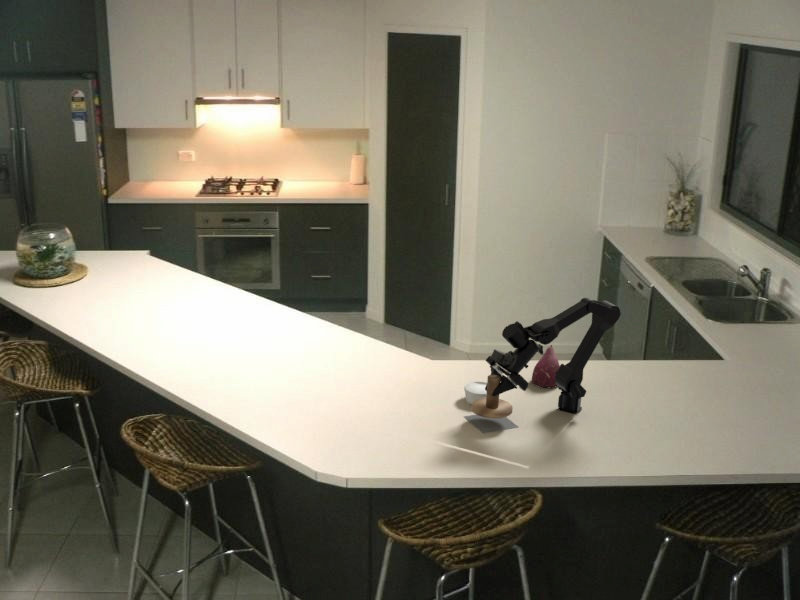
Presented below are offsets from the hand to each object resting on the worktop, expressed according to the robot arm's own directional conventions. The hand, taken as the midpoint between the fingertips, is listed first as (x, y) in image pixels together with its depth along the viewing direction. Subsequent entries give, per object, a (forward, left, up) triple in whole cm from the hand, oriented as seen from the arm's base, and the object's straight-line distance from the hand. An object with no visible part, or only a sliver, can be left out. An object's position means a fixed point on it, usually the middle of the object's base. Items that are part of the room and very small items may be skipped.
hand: (489, 392), depth 318 cm
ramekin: (+9, -15, -11) cm, 21 cm away
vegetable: (-4, -43, -11) cm, 45 cm away
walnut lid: (-1, -1, -6) cm, 6 cm away
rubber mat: (-1, -1, -11) cm, 11 cm away
